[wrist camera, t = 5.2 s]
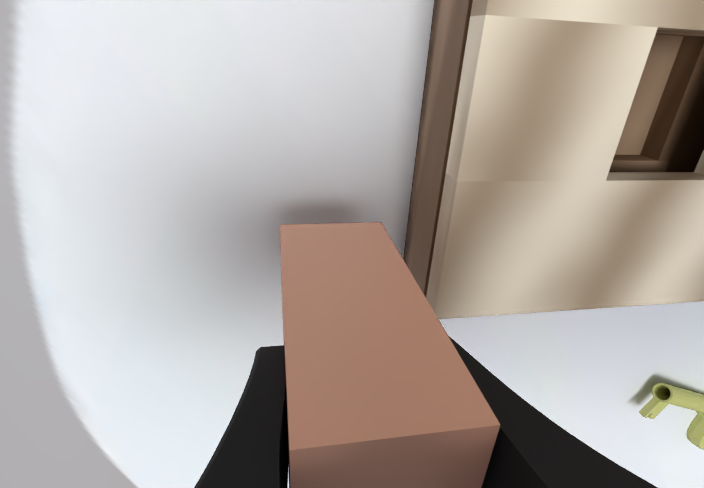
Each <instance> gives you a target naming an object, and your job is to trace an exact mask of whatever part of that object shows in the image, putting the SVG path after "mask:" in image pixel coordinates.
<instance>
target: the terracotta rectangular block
mask: <svg viewBox="0 0 704 488" xmlns="http://www.w3.org/2000/svg"><path fill="white" fill-rule="evenodd" d="M280 248H281V280H282V312H283V338H284V345H285V366H286V395H287V429H288V465H289V488H481V487H482V484H483V480H484V477H485V474H486V471H487V467H488V464H489V461H490V457H491V454H492V451H493V448H494V444H495V441H496V438H497V434H498V431H499V428H500V423H499V422H498V420H497V418H496V416H495V415H494V413H493V411H492V410H491V408H490V406H489V405H488V403H487V401H486V399H485V398H484V396H483V394H482V393H481V391H480V389H479V388H478V386H477V384H476V382H475V381H474V379H473V377H472V376H471V374H470V372H469V371H468V369H467V367H466V365H465V364H464V362H463V360H462V359H461V357H460V355H459V354H458V352H457V350H456V348H455V347H454V345H453V343H452V342H451V340H450V338H449V337H448V335H447V333H446V331H445V330H444V328H443V326H442V325H441V323H440V321H439V320H438V318H437V316H436V314H435V313H434V311H433V309H432V308H431V306H430V304H429V303H428V301H427V299H426V297H425V296H424V294H423V292H422V291H421V289H420V287H419V286H418V284H417V282H416V280H415V279H414V277H413V275H412V274H411V272H410V270H409V269H408V267H407V265H406V263H405V262H404V260H403V258H402V257H401V255H400V253H399V252H398V250H397V248H396V246H395V245H394V243H393V241H392V240H391V238H390V236H389V235H388V233H387V231H386V229H385V228H384V226H383V224H382V223H381V222H367V223H325V224H283V225H280Z"/></svg>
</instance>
